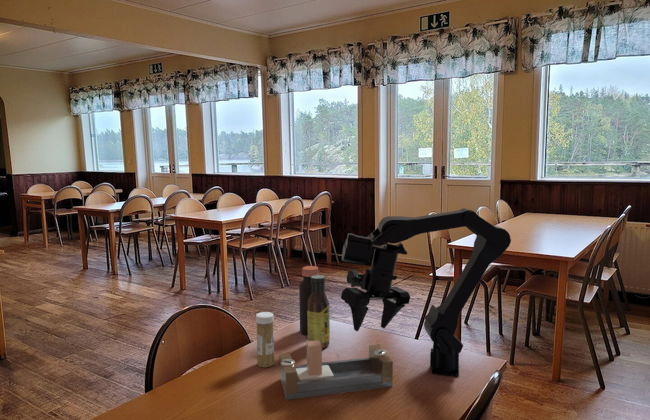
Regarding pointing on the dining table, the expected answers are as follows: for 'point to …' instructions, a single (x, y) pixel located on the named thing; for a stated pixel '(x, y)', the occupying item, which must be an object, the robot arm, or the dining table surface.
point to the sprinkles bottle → (265, 339)
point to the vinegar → (305, 295)
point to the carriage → (314, 364)
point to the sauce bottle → (318, 312)
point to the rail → (339, 375)
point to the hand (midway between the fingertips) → (369, 329)
